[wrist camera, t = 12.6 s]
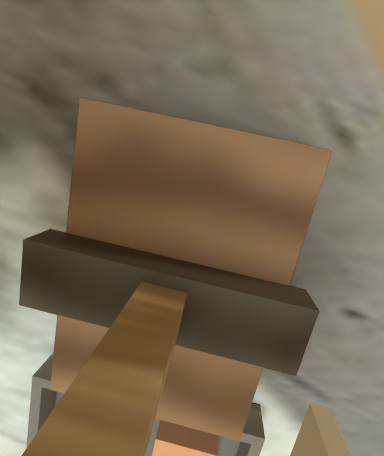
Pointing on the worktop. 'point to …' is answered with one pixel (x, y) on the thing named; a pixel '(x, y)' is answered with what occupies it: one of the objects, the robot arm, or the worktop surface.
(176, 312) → the scraper
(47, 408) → the tray
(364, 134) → the worktop surface
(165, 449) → the tile
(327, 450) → the robot arm
